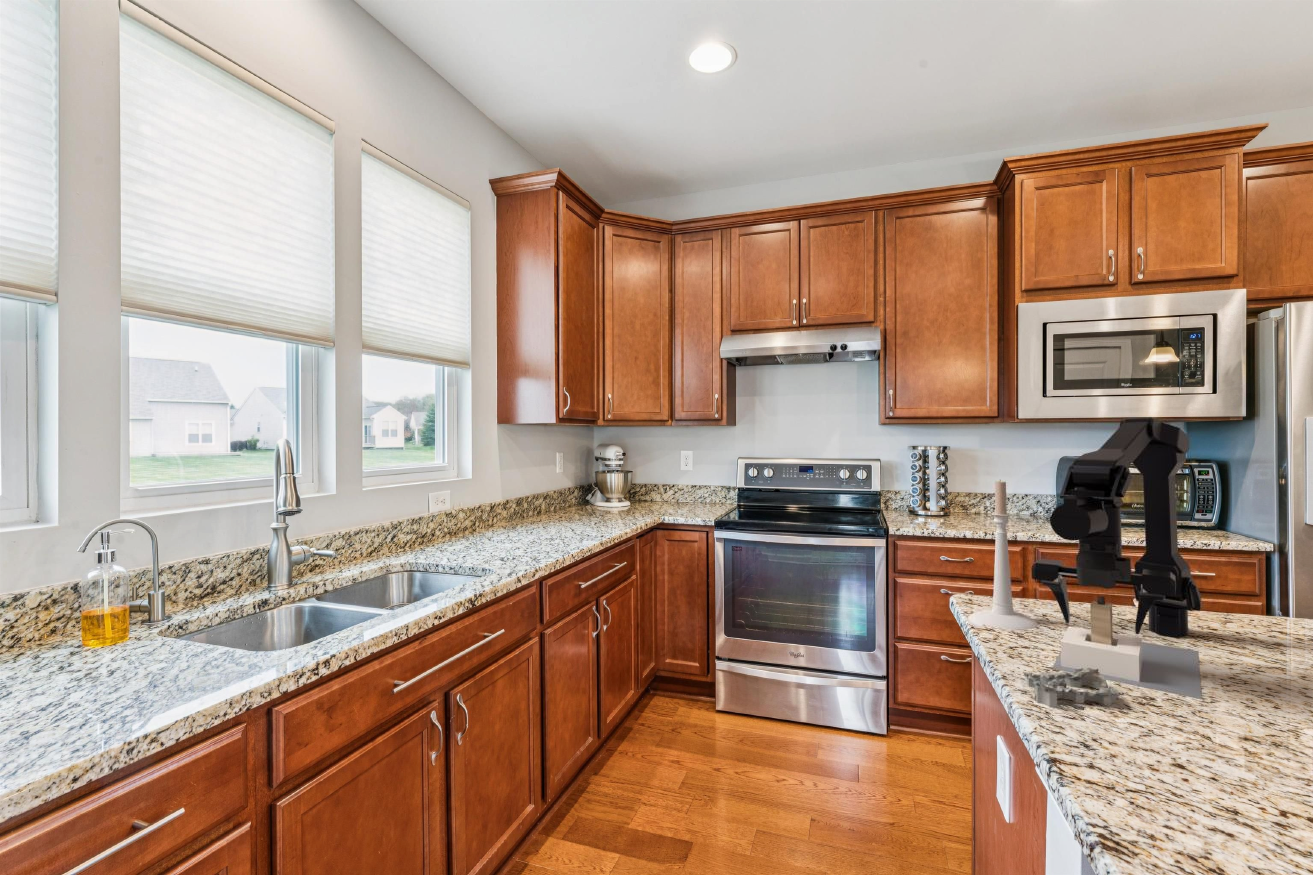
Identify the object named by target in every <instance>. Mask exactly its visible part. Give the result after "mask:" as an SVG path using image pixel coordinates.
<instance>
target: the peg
mask: <svg viewBox="0 0 1313 875" xmlns="http://www.w3.org/2000/svg"><path fill="white" fill-rule="evenodd" d="M1096 596H1097V601H1096V600H1092V601H1091V603H1090V604H1089V605H1090V630H1091V642H1095V643H1100V644H1106V645H1112V646H1113V634H1114V631H1113V629H1114V628H1113V603H1110V602H1106V596H1103V595H1096Z"/></svg>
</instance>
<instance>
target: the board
mask: <svg viewBox="0 0 1313 875" xmlns="http://www.w3.org/2000/svg"><path fill="white" fill-rule="evenodd" d="M1199 660H1200V658H1199V650H1193V649H1192V650H1191V649H1186V648H1181V647H1175V646H1169V645H1164V644H1157V643H1152V642H1151V643H1150V642H1146V641H1142V668H1141V675H1140V681H1139V682H1138V681H1133V680H1128V679H1123V678H1118V677H1113V676H1108V675H1104V674H1101V675H1102V676H1103V677H1104V678H1105V680H1106V681H1110V682H1116V683H1122V684H1125V685H1130V686H1135V687H1141V688H1145V689H1150V690H1153V691H1154V690H1155V691H1158V692H1159V691H1160V692H1164V693H1169V694H1175V695H1178V696H1183V697H1189V698H1194V699H1198V700H1202V699H1203V698H1202V697H1203V696H1202V684H1201V672H1200V662H1199ZM1051 669H1053V670H1057V671H1061V672H1069V673H1073V672H1074V671H1075V669H1074V668H1069V667H1064V666H1061V651H1060V652H1059V654H1058V656H1057V658H1056V660H1055V661H1054V663H1053V665H1052V668H1051Z"/></svg>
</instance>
